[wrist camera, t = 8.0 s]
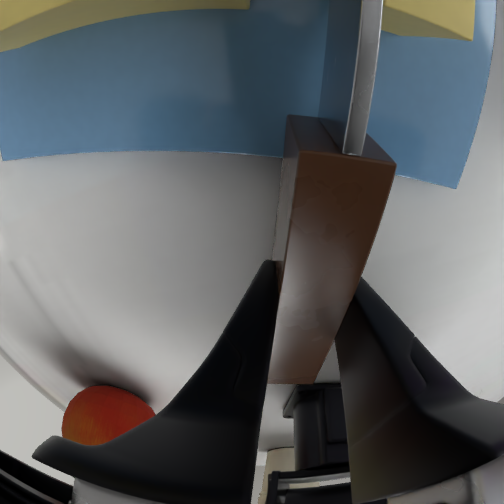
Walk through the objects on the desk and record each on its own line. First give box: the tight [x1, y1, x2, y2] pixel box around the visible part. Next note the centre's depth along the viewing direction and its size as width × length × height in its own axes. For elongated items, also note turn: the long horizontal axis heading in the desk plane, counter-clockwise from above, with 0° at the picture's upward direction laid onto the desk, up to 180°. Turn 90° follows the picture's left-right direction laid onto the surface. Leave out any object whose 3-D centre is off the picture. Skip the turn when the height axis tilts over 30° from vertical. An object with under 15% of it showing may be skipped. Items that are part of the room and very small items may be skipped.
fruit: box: [62, 385, 155, 478], centre depth 20 cm, size 10×10×10 cm
